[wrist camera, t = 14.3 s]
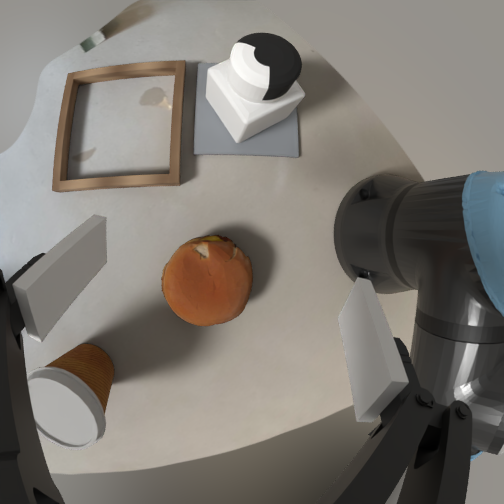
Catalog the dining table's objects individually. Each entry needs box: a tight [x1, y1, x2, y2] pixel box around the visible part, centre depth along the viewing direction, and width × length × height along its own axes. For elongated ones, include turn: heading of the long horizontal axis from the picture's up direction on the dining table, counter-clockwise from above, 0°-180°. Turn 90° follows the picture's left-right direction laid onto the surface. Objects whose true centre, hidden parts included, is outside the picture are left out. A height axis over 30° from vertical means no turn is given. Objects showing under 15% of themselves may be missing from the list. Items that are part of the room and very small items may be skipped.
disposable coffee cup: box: [27, 344, 114, 450], centre depth 26 cm, size 10×10×12 cm
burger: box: [161, 235, 253, 326], centre depth 32 cm, size 10×9×5 cm
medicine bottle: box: [206, 33, 305, 143], centre depth 26 cm, size 7×7×12 cm
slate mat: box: [194, 63, 299, 158], centre depth 33 cm, size 12×12×1 cm
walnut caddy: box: [52, 61, 186, 192], centre depth 30 cm, size 15×15×2 cm
